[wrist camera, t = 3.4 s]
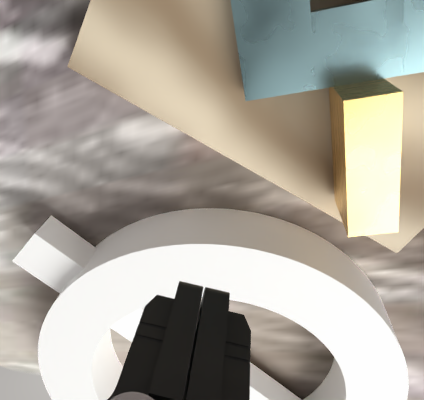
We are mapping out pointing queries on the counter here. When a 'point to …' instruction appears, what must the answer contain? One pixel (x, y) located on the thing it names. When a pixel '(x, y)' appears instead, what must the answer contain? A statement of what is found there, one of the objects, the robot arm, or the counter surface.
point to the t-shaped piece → (341, 87)
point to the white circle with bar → (207, 277)
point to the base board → (236, 98)
